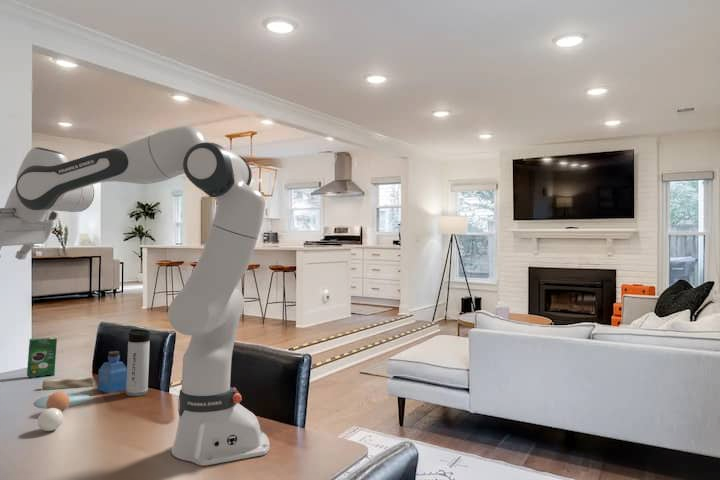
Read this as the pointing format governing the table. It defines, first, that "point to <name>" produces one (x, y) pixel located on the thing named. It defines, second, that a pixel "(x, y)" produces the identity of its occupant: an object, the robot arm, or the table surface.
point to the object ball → (58, 401)
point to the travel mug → (138, 362)
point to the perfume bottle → (112, 374)
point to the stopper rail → (67, 383)
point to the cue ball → (50, 419)
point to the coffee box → (41, 357)
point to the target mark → (73, 399)
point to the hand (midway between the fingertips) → (6, 260)
